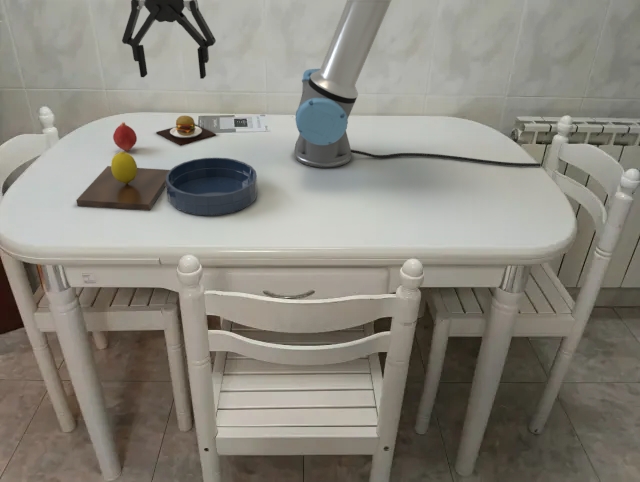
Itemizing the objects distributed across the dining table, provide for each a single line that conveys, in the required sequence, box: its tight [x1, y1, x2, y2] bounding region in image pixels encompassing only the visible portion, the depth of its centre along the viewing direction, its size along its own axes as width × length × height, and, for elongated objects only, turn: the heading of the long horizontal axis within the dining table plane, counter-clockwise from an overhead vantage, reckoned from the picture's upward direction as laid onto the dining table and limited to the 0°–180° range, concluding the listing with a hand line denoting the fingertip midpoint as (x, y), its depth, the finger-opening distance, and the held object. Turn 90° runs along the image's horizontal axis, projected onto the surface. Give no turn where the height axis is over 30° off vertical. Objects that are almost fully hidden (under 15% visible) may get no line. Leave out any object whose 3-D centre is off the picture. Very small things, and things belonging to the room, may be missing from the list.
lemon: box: [110, 150, 138, 184], centre depth 127 cm, size 6×6×8 cm
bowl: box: [165, 157, 258, 217], centre depth 128 cm, size 20×20×5 cm
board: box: [75, 165, 171, 211], centre depth 129 cm, size 16×18×2 cm
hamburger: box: [156, 115, 217, 147], centre depth 159 cm, size 12×12×6 cm
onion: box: [112, 121, 138, 152], centre depth 146 cm, size 6×6×8 cm
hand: (173, 76), depth 128 cm, fingers open, 13 cm apart
